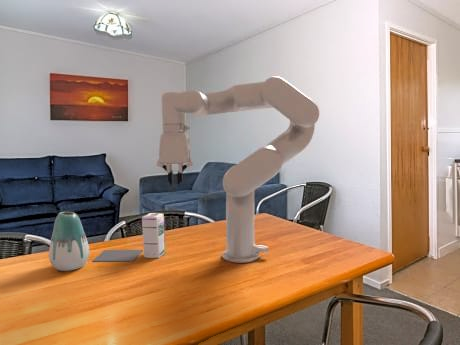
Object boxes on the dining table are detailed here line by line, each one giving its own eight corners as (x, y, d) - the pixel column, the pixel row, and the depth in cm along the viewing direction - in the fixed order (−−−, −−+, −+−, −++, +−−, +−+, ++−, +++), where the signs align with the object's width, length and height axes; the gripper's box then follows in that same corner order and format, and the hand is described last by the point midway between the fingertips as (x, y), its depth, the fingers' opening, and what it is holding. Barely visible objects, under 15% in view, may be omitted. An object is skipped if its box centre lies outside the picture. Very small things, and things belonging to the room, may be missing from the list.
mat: (142, 250, 123) (142, 249, 123) (134, 261, 112) (133, 260, 112) (104, 250, 123) (104, 249, 123) (92, 261, 113) (92, 260, 112)
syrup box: (159, 258, 115) (157, 216, 113) (143, 257, 116) (141, 216, 115) (165, 252, 120) (164, 213, 119) (150, 252, 122) (148, 212, 120)
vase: (97, 262, 112) (95, 209, 110) (70, 276, 101) (67, 217, 99) (70, 259, 115) (66, 207, 113) (41, 271, 104) (37, 215, 103)
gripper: (198, 130, 117) (199, 182, 119) (153, 130, 117) (154, 183, 119) (196, 129, 110) (197, 185, 112) (147, 130, 110) (149, 186, 112)
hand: (175, 183), depth 116 cm, fingers closed
